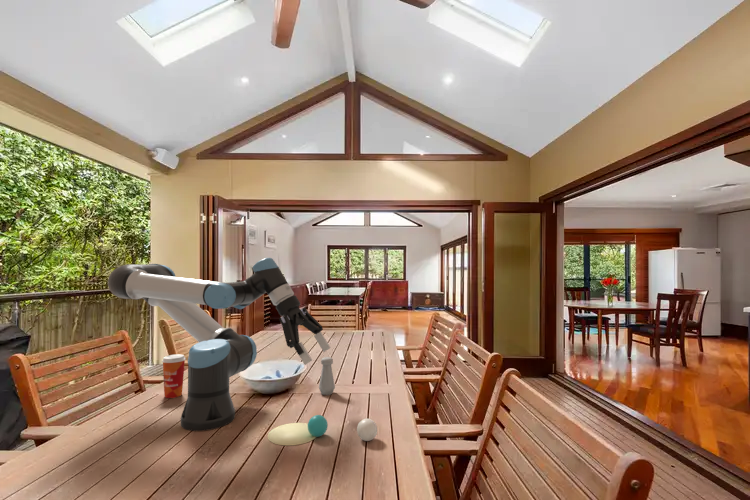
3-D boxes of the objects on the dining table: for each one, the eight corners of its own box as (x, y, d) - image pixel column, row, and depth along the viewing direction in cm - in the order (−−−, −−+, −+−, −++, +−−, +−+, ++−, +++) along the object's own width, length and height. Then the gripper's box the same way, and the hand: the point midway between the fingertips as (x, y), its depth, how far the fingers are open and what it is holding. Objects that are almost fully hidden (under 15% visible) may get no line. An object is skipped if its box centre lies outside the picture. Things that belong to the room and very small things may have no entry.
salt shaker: (331, 396, 138) (332, 360, 138) (316, 395, 139) (316, 359, 140) (336, 391, 144) (336, 356, 144) (322, 390, 145) (322, 355, 145)
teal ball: (304, 439, 104) (304, 418, 104) (311, 430, 110) (311, 411, 110) (324, 441, 103) (324, 420, 104) (330, 432, 109) (330, 412, 109)
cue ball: (354, 443, 102) (354, 422, 102) (359, 434, 107) (359, 414, 107) (375, 445, 101) (375, 424, 101) (378, 436, 106) (378, 416, 106)
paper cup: (156, 397, 137) (156, 357, 138) (174, 390, 144) (175, 353, 145) (172, 400, 134) (172, 359, 135) (190, 393, 141) (190, 355, 142)
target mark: (258, 443, 102) (258, 442, 102) (280, 421, 116) (280, 421, 116) (308, 447, 100) (308, 446, 100) (325, 425, 113) (325, 424, 113)
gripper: (272, 300, 115) (309, 362, 112) (310, 289, 138) (342, 340, 135) (254, 313, 117) (290, 374, 114) (295, 300, 140) (326, 350, 137)
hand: (318, 356), depth 125 cm, fingers open, 13 cm apart
